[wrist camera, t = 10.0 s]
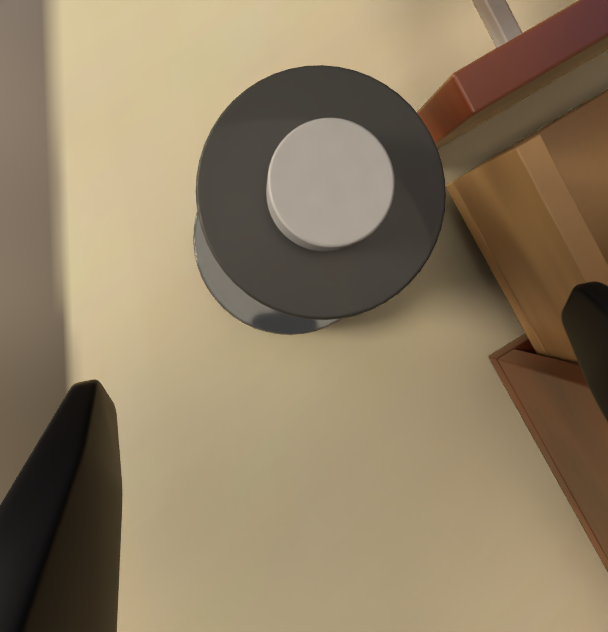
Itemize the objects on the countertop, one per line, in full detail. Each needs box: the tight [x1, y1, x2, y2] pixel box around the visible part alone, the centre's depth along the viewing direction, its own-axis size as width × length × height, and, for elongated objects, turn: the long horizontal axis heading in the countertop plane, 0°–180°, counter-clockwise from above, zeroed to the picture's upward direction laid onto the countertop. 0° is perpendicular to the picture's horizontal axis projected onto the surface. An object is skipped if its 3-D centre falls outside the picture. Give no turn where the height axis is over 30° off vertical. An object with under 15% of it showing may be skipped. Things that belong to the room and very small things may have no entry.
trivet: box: [193, 212, 340, 335], centre depth 19 cm, size 7×7×2 cm
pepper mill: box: [196, 65, 446, 320], centre depth 13 cm, size 4×4×10 cm
